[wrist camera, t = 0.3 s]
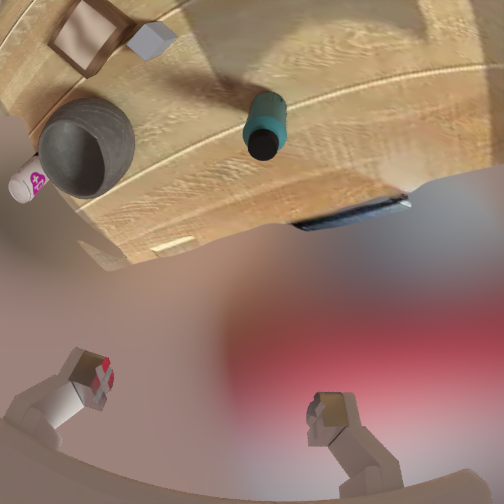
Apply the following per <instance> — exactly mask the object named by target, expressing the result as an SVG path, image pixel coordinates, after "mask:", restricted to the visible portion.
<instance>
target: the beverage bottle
mask: <svg viewBox="0 0 504 504" xmlns="http://www.w3.org/2000/svg"><path fill="white" fill-rule="evenodd" d="M252 102H253V103H252V106H250V107H251V109H250V112H249V115H248V119H247V122H246V124H245V126H244V129H243V139H244V142H245V144H246V145H247V147H248V151H249V153H250V155H251V156H252V157H253V158H255V159H257V160H260V161H267V160H270V159H272V158H273V157H274V156H275V155H276V153H277V151H278V150H280V149H281V148H282V147H283V145H284V144H285V142H286V138H287V131H286V115H287V113H286V104H285V101H284V100H283V98H282V96H280V95H278V94H276V93H275V92H274V93H273V92H269V91H268V92H264V93H261V94H259V95H258V96H257V97H256V98H255V99H254V100H253V101H252Z"/></svg>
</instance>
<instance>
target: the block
mask: <svg viewBox="0 0 504 504" xmlns="http://www.w3.org/2000/svg"><path fill="white" fill-rule="evenodd" d="M177 38H178V36H177V35H176V34H175V33H174V32H173V31H172V30H171V29H169V28H168V27H167V26H166V25H165V24H164V23H163V22H161V21H160V22H153V23H146V24H144V25H143V26H142V27H141V29H140V30H139V31H138V32H137V33H136V34H135V35H134V36H133V38H132V39H131V40H130V41H129V42H128V43H127V46H129V47H130V48H131V49H132V50H133V51H134V52H135V53H137V54H138V55H139V56H140V57H141V58H142V59H143V60H144V61H147V60H150V59H152V58H154V57H157V56H159V55H161V54H162V53H163V52H164V51H165V50H166V49H167V48H168V47H169V46H170V45H171V44H172V43H173V42H174V41H175V40H176V39H177Z"/></svg>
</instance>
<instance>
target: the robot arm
mask: <svg viewBox="0 0 504 504" xmlns="http://www.w3.org/2000/svg"><path fill="white" fill-rule="evenodd" d="M109 365H110V360H109V358H107V357H104V356H101V355H98V354H95V353H92V352H88V351H86V350H83V349H80V348H77V347H76V348H74V349H73V350H72V352H71V353H70V355H69V357H68V358H67V360H66V362H65V363H64V365H63V367H62V369H61V370H60V372H59V374H58V375H53V376H51V377H49V378H48V379H46V380H44V381H42V382H40V383H38V384H37V385H35V386H33V387H31V388H29V389H27V390H25V391H24V392H22V393H20V394H18V395H16V396H15V397H14V399H13V401H12V402H11V404H10V406H9V408H8V410H7V412H6V413H5V416H4V417H3V419H2V418H0V504H493V499H492V494H491V490H490V487H489V485H488V483H487V482H486V481H485V480H484V479H483V478H481V477H480V476H479V475H478V474H476V473H475V472H474V471H472V470H471V469H463V470H460V471H457V472H455V473H452V474H449V475H446V476H443V477H440V478H437V479H433V480H430V481H427V482H423V483H420V484H416V485H412V486H408V487H404V485H403V480H402V475H401V470H400V465H399V461H398V460H397V459H396V458H395V457H394V456H393V455H392V454H391V453H390V452H389V451H388V450H387V449H386V448H385V447H384V446H383V445H382V444H381V443H380V442H379V441H378V440H377V439H376V438H375V436H374V435H373V434H372V433H371V432H370V431H369V430H368V429H367V428H366V427H365V426H362V425H361V421H360V416H359V411H358V407H357V402H356V398H355V395H354V393H341V392H317V393H316V394H315V395H314V401H312V402H311V403H310V404H309V406H308V409H307V414H306V415H307V416H306V421H307V424H308V425H309V426H310V429H309V431H308V432H307V434H308V446H329V447H328V448H329V450H330V451H331V452H332V454H333V455H334V457H335V458H336V459H337V461H338V462H339V464H340V465H341V466H342V468H343V469H344V470H345V472H346V473H347V474H348V476H349V477H350V479H349V480H347V481H346V482H344V483H343V484H342V485H340V486H339V492H340V499H331V500H318V501H294V502H276V501H251V500H238V499H228V498H219V497H211V496H204V495H198V494H192V493H187V492H182V491H177V490H172V489H168V488H163V487H159V486H155V485H151V484H147V483H144V482H140V481H137V480H133V479H130V478H127V477H123V476H120V475H117V474H114V473H111V472H109V471H106V470H103V469H100V468H98V467H95V466H93V465H90V464H88V463H85V462H83V461H80V460H78V459H76V458H73V457H71V456H69V455H67V454H65V453H62V452H60V451H59V448H60V445H61V443H62V437H61V436H60V435H59V434H58V433H57V431H56V430H55V429H56V428H57V427H58V426H59V425H61V424H62V423H63V422H65V421H66V420H67V419H69V418H70V417H71V416H73V415H74V414H75V413H77V412H78V411H79V410H81V409H82V408H83V407H84V406H87V407H89V408H93V409H96V410H99V411H102V410H103V407H104V405H105V402H106V400H107V398H106V395H105V394H106V393H107V392H109V391H111V388H112V386H113V381H114V373H113V370H112V369H111V368H110V367H109Z"/></svg>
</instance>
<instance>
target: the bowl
mask: <svg viewBox="0 0 504 504" xmlns="http://www.w3.org/2000/svg"><path fill="white" fill-rule="evenodd" d="M134 150H135V136H134V131H133V128H132V125H131V123H130V121H129V119H128V118H127V116H126V115H125V113H124V112H123V111H122V110H121V109H119V108H118V107H117V106H115V105H114V104H112V103H110V102H108V101H106V100H103V99H99V98H83V99H78V100H74V101H72V102H69V103H67V104H65V105H63V106H62V107H60V108H59V109H58V110H57V111H56V112H55V113H54V114H53V115H52V116H51V117H50V119H49V120H48V122H47V123H46V125H45V127H44V128H43V131H42V133H41V136H40V139H39V144H38V155H39V160H40V164H41V166H42V169H43V171H44V172H45V174H46V175H47V177H48V178H49V179H50V180H51V181H52V183H54V184H55V185H56V186H57V187H58V188H59V189H61V190H62V191H64V192H66V193H67V194H69V195H72V196H74V197H76V198H79V199H93V198H96V197H99V196H101V195H103V194H105V193H106V192H107V191H109V190H110V189H111V188H112V187H114V186H115V185H116V184H117V183H118V182H119V180H120V179H121V178H122V177H123V176H124V175H125V173H126V172H127V170H128V169H129V167H130V165H131V163H132V160H133V156H134Z"/></svg>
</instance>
